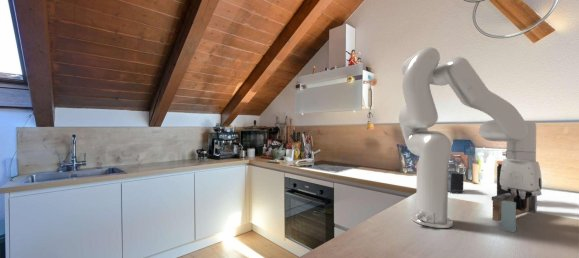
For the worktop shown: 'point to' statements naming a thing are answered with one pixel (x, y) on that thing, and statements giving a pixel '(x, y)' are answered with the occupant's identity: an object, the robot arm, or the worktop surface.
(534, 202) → the gate post
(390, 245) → the worktop surface
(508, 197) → the gate
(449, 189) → the small box
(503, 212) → the block
